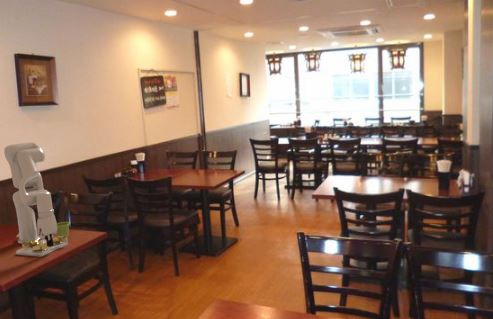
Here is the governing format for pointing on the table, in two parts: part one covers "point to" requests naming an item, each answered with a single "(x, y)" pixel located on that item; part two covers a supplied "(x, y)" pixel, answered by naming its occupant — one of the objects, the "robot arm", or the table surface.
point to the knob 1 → (40, 246)
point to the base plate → (31, 252)
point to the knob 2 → (60, 239)
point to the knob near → (29, 243)
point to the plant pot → (63, 229)
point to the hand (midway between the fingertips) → (50, 246)
